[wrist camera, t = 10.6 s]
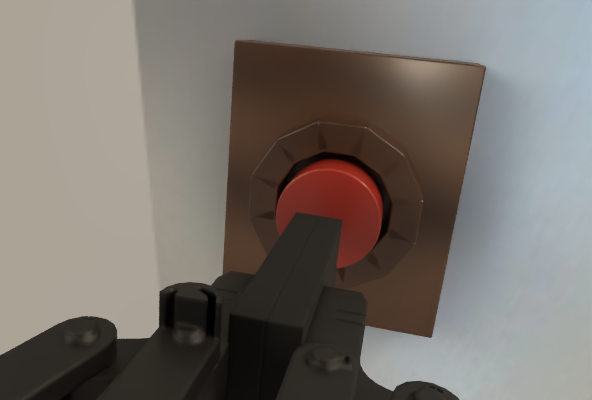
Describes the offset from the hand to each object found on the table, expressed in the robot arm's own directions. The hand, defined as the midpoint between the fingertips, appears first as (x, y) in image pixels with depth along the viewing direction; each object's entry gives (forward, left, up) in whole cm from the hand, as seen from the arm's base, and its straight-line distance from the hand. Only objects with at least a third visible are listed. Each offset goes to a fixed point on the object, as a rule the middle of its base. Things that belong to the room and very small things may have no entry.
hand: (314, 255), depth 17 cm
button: (0, 0, -5) cm, 5 cm away
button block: (0, 0, -8) cm, 8 cm away
